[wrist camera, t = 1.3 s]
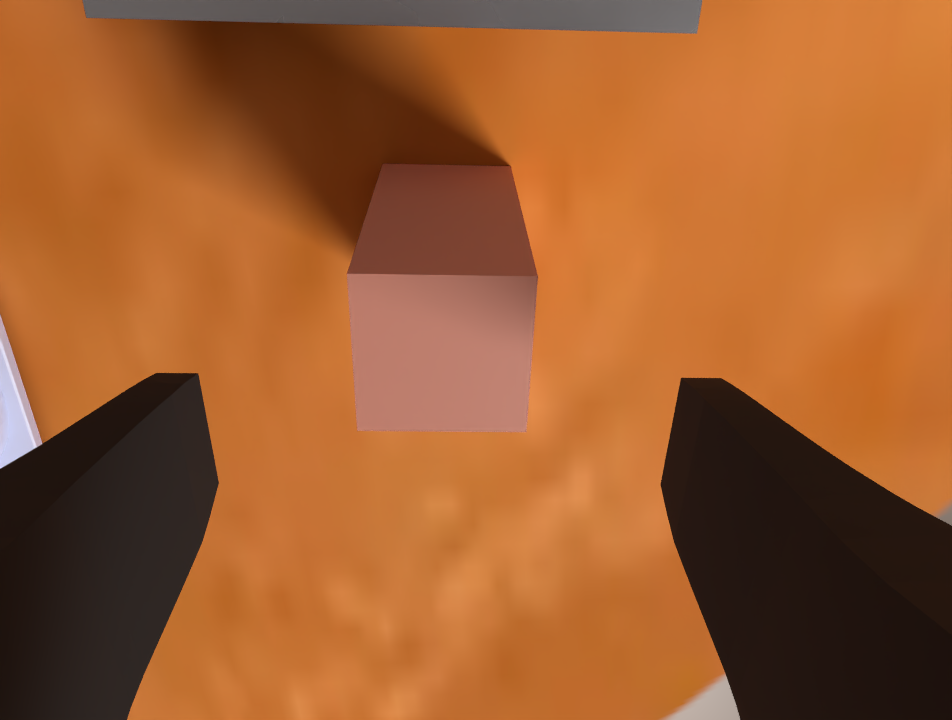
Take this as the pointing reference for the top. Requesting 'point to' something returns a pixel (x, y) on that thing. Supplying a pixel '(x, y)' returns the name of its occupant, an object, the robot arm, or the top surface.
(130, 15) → the gray slotted base
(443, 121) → the top surface
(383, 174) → the reddish brown rectangular block
